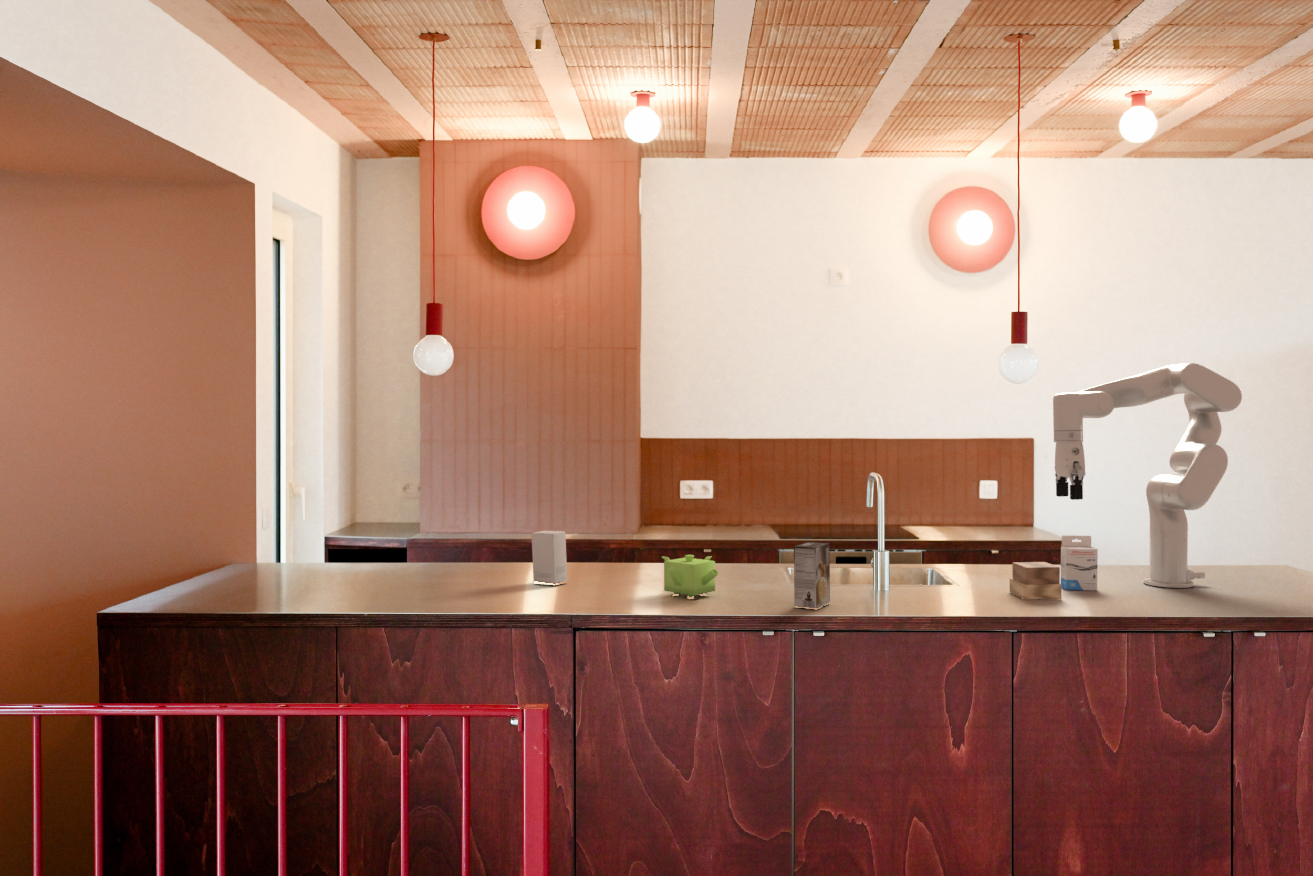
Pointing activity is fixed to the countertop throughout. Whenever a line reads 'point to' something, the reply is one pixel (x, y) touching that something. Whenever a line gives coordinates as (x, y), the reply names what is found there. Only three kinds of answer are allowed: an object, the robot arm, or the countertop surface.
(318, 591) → the countertop surface
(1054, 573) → the tower top
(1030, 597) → the tower base
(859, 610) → the countertop surface
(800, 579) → the coffee box
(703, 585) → the kettle
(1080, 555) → the ink box
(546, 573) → the skincare box
